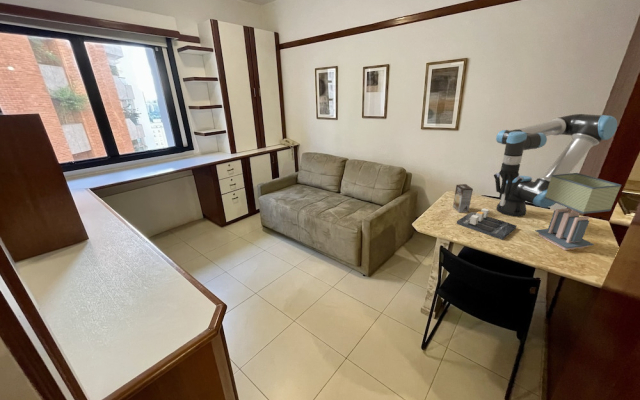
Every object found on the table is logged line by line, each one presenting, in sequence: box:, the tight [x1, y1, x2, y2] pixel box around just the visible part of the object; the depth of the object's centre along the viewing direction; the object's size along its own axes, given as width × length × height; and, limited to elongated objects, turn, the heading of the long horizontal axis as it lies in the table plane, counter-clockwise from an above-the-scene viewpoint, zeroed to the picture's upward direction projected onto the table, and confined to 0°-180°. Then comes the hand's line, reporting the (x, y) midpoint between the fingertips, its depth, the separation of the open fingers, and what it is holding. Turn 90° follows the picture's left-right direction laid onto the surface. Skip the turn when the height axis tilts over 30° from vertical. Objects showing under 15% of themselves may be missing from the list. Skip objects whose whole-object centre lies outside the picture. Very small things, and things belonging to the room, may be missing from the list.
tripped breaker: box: [475, 210, 484, 222], centre depth 147 cm, size 3×3×5 cm
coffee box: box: [452, 183, 474, 213], centre depth 164 cm, size 9×6×16 cm
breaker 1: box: [470, 215, 479, 225], centre depth 144 cm, size 3×3×4 cm
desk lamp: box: [534, 172, 622, 251], centre depth 123 cm, size 18×14×33 cm
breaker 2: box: [480, 208, 490, 218], centre depth 151 cm, size 3×3×4 cm
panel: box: [456, 211, 517, 241], centre depth 146 cm, size 18×24×2 cm
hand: (502, 204), depth 139 cm, fingers closed
